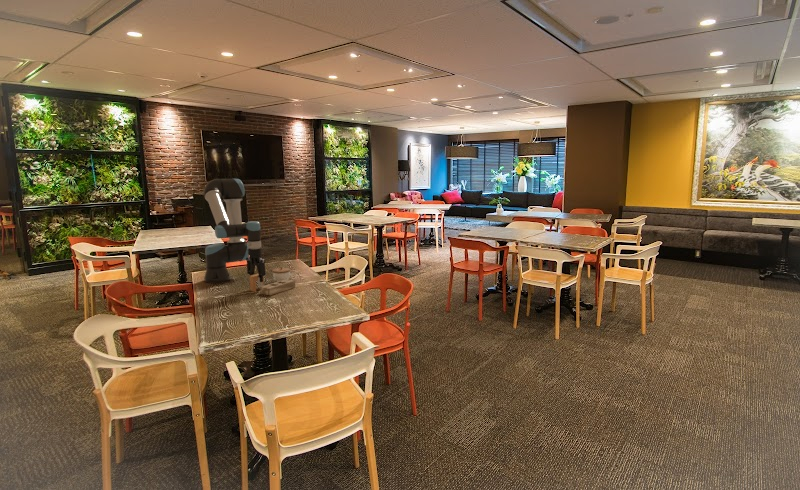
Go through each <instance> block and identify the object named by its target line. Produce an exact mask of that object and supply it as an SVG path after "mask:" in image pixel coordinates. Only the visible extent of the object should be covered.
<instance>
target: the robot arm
mask: <svg viewBox="0 0 800 490" xmlns="http://www.w3.org/2000/svg"><path fill="white" fill-rule="evenodd" d="M245 192H246V190H245V186H244V183H243V182H242V180H241V179H239V178H214V179H211V180H209V182H207V183H206V185H205V186H204V189H203V197H204V200H206V201H207V203H208V204H209V205H208V206H209V208H210V211H211V213H212V216H213V219H214V221H215V224H216V225H215V227H214V234H215V237H216V238H217V239H228V240H227V242H226V244H225V243H224V242H219V243H218V242H217V243H212V244H209V245H207V246H206V247H205V248H204V253H205V254H204V255H205V264H206V267H205V268H206V271H205V275H204V282H205V283H209V284H214V283H215V284H217V283H223V282H228V281H229V280H230V279H231V275H230V273H229V270H228V269H227V264H229V263H235V262H236V263H237V262H245V261H246V272H247V273H246V274H248V275H249V276H251V275H255V274H256V273H255V269H256V270H257V274H258V275H259V276H258V281H257V287H258V289H259V288H260V287H261V286H263V277H265V276H266V274H267V273H266V265H265V264H266V259H265V258H262V256H261V255H262V253H263V251H262V250H263V249H262V235H261V234H262V233H261V228H262V227H261V223H260V222H259V221H255V220H254V221H253V220H252V221H247V222H244V223H243V221H242V220H243V219H242V209H241V201H242V200H243V197H245ZM223 201H224V203H225V205H226V207H225V206H224V203H223ZM244 237H247V239H245V238H244Z"/></svg>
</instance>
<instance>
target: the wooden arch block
mask: <svg viewBox="0 0 800 490" xmlns="http://www.w3.org/2000/svg"><path fill="white" fill-rule="evenodd" d="M258 276H259V275H258V273H255V274H253V275H251V276H250V275H249V290H250V292H257V282H258ZM264 277H265V276H263V286H264V285H265V281H264V279H265V278H264ZM256 281H257V282H256ZM258 289H259V290H260V288H258Z"/></svg>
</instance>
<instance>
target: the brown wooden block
mask: <svg viewBox="0 0 800 490" xmlns="http://www.w3.org/2000/svg"><path fill="white" fill-rule="evenodd" d="M294 288H296V280H293V279H288V280H287V279H284V280H281V281H278V282H277V281H275V282H272V283H269V284H264V286H261V287H260V289H259V291H260V292H259V293H260V294H261V295H265V296H273V295H276V294H279V293H283V292H285V291H289V290H291V289H294Z"/></svg>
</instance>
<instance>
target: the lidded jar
mask: <svg viewBox="0 0 800 490" xmlns="http://www.w3.org/2000/svg"><path fill="white" fill-rule="evenodd" d="M272 276H273V279H274V280H275V282H278V281H281V280H284V279H287V280H290V277H291V268H288V267H283V266H280V267H278V268H273V269H272Z"/></svg>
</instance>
